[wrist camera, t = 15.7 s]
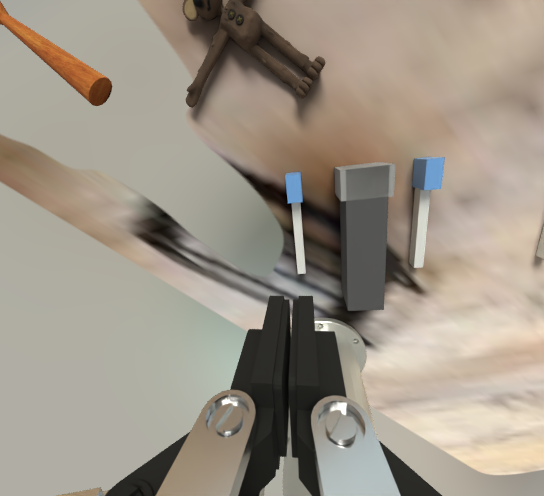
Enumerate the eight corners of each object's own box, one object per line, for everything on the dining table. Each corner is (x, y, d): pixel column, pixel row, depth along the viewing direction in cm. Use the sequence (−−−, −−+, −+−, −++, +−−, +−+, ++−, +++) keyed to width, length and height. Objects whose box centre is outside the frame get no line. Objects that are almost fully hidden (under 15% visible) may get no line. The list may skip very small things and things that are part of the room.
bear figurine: (263, 162, 27) (136, 72, 24) (265, 158, 31) (156, 81, 28) (384, -30, 20) (230, -187, 17) (367, -4, 24) (240, -128, 21)
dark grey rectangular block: (376, 287, 33) (388, 309, 29) (337, 289, 34) (343, 310, 30) (380, 162, 28) (395, 164, 23) (334, 167, 29) (340, 170, 24)
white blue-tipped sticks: (545, 255, 29) (570, 265, 27) (295, 269, 34) (295, 279, 31) (577, 140, 25) (612, 138, 22) (287, 173, 29) (285, 175, 27)
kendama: (73, 118, 26) (-143, -37, 22) (112, 114, 31) (-58, -14, 27) (84, 62, 23) (-163, -131, 19) (126, 67, 28) (-63, -85, 24)
